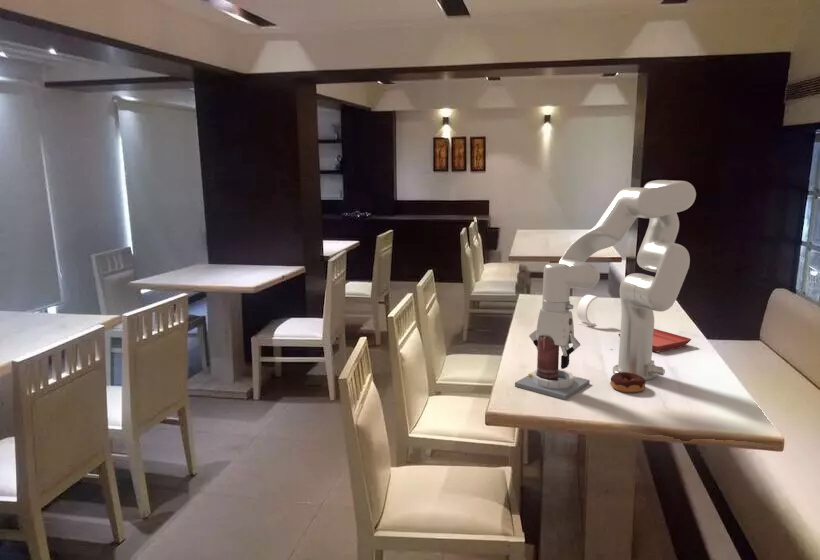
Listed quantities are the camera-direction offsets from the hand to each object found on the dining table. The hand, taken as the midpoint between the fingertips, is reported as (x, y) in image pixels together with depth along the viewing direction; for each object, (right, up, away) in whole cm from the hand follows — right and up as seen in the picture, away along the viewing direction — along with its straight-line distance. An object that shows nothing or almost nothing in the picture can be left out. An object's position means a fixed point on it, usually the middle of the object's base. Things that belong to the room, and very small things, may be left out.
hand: (553, 364), depth 174 cm
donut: (+21, -7, -1) cm, 23 cm away
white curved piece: (+30, +6, +67) cm, 73 cm away
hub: (0, -6, +1) cm, 6 cm away
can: (-1, -5, +1) cm, 6 cm away
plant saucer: (+47, +1, +41) cm, 62 cm away
